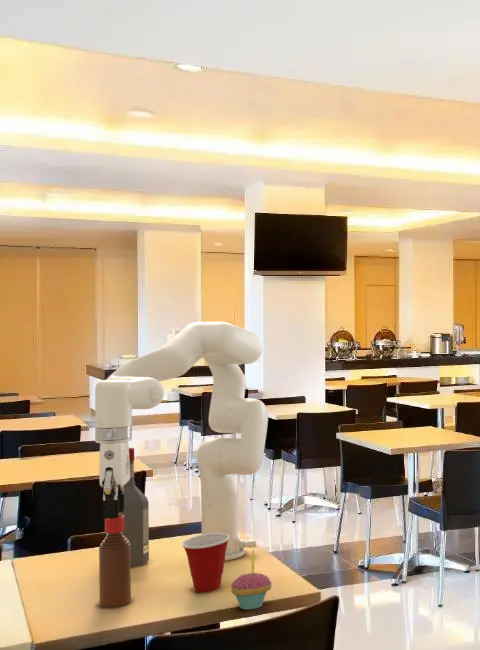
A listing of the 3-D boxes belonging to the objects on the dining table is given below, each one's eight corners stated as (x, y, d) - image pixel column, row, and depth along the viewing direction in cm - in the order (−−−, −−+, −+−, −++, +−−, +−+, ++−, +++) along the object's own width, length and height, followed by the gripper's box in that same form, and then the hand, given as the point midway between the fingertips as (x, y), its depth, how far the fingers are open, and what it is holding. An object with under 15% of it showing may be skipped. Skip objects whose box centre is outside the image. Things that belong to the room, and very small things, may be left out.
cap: (125, 528, 199) (125, 514, 199) (122, 532, 195) (122, 518, 195) (106, 529, 198) (106, 515, 198) (103, 533, 194) (103, 519, 194)
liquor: (113, 571, 221) (112, 452, 221) (104, 563, 228) (103, 448, 229) (151, 564, 227) (150, 449, 227) (140, 556, 234) (139, 445, 234)
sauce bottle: (133, 597, 200) (132, 514, 200) (128, 606, 194) (127, 520, 194) (102, 599, 199) (102, 516, 199) (96, 608, 193) (96, 522, 193)
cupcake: (236, 600, 197) (236, 547, 197) (274, 599, 198) (274, 546, 198) (227, 613, 189) (226, 558, 189) (267, 612, 189) (267, 556, 189)
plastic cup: (175, 587, 207) (175, 537, 207) (221, 579, 214) (220, 530, 214) (190, 599, 198) (189, 546, 198) (237, 589, 205) (236, 538, 205)
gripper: (124, 438, 189) (124, 522, 189) (138, 429, 206) (138, 506, 206) (86, 440, 187) (86, 524, 187) (103, 430, 204) (103, 508, 204)
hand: (113, 514), depth 196 cm, fingers open, 5 cm apart
